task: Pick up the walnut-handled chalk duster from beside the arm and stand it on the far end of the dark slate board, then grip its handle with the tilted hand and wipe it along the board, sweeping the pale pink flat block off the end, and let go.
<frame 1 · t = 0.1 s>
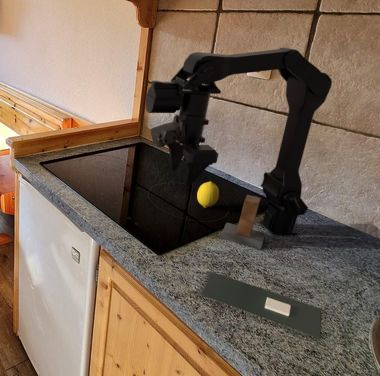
hand: (180, 177, 96), 15 cm above the worktop, tool pointing down, fingers open, 9 cm apart
duster: (242, 238, 100), on the worktop
board: (259, 303, 78), on the worktop
pale pink flat block: (277, 307, 76), point 1 cm above the worktop, touching board
lemon: (205, 208, 114), on the worktop
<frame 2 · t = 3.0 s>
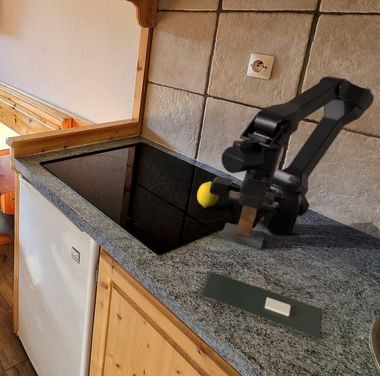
hand: (245, 225, 98), 4 cm above the worktop, tool pointing down, fingers closed on duster, 3 cm apart
duster: (242, 239, 100), on the worktop, touching gripper
everything else where it was.
when the fingers open (4 cm above the worktop, at t = 8.4 s): duster stays where it is, resting on board.
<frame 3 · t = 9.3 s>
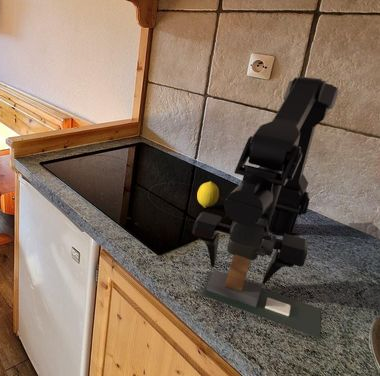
hand: (237, 274, 78), 5 cm above the worktop, tool pointing down, fingers open, 9 cm apart
duster: (232, 291, 80), point 1 cm above the worktop, touching board
everything else where it was.
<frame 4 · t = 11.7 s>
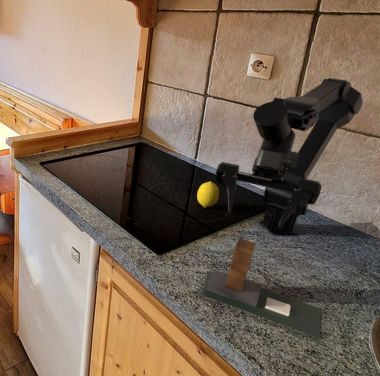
hand: (253, 220, 81), 13 cm above the worktop, tool tilted 45°, fingers open, 9 cm apart
nothing on the worktop moved.
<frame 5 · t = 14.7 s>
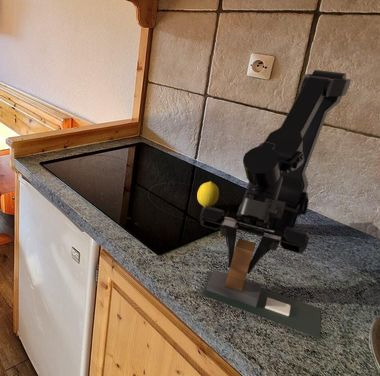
hand: (238, 269, 76), 7 cm above the worktop, tool tilted 45°, fingers closed on duster, 3 cm apart
duster: (232, 291, 80), point 1 cm above the worktop, touching board, gripper
everything else where it was.
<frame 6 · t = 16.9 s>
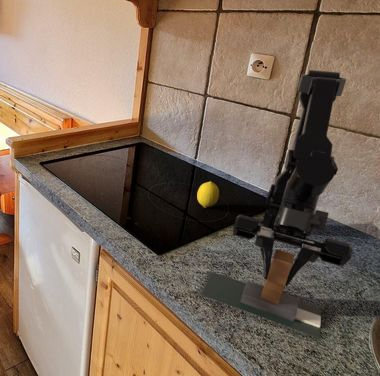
hand: (275, 282, 73), 7 cm above the worktop, tool tilted 45°, fingers closed on duster, 3 cm apart
duster: (267, 304, 77), point 1 cm above the worktop, touching gripper
pale pink flat block: (307, 318, 74), point 1 cm above the worktop, touching board
everything else where it was.
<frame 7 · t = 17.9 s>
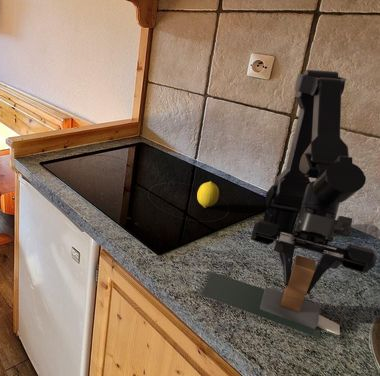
hand: (296, 289, 72), 7 cm above the worktop, tool tilted 45°, fingers closed on duster, 3 cm apart
duster: (287, 311, 75), point 1 cm above the worktop, touching board, pale pink flat block, gripper
pale pink flat block: (328, 326, 72), on the worktop, tilted 11°, touching board, duster
everything else where it was.
when the fingers open (7 cm above the worktop, at t = 18.0 s): duster stays where it is, resting on board.
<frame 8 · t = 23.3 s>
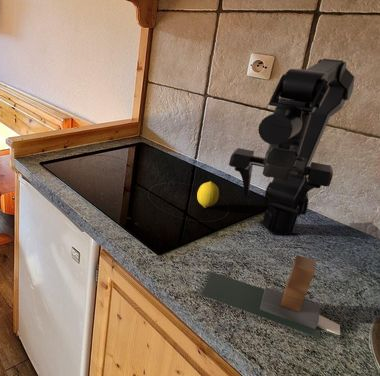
hand: (268, 202, 89), 13 cm above the worktop, tool pointing down, fingers open, 9 cm apart
duster: (287, 311, 75), point 1 cm above the worktop, touching board
pale pink flat block: (328, 326, 72), on the worktop, tilted 11°, touching board
everything else where it was.
at the end: duster 0.5 cm from the target spot on the board, point 0.6 cm above the board's base; duster tilted 0°; pale pink flat block moved 8.2 cm from its start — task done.
